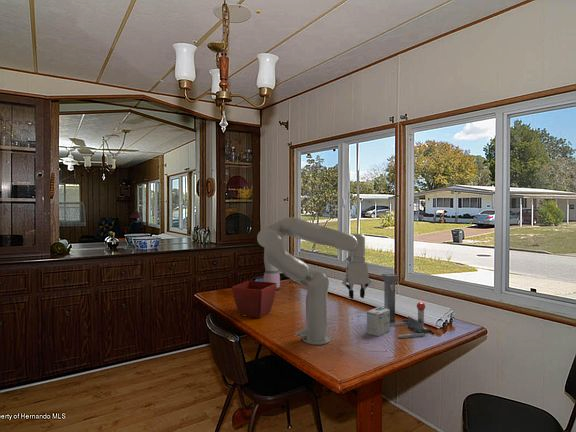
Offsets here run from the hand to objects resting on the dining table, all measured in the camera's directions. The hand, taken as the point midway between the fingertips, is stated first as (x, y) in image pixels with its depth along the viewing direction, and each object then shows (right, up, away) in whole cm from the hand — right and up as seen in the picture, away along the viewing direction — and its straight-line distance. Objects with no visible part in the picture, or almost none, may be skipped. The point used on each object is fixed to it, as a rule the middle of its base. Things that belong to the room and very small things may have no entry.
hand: (356, 297), depth 167 cm
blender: (-44, -16, +95) cm, 106 cm away
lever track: (+32, -17, +8) cm, 37 cm away
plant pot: (-52, -17, +31) cm, 63 cm away
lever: (+33, -17, +6) cm, 37 cm away
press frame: (+22, -17, +7) cm, 29 cm away
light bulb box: (+11, -18, +2) cm, 21 cm away
